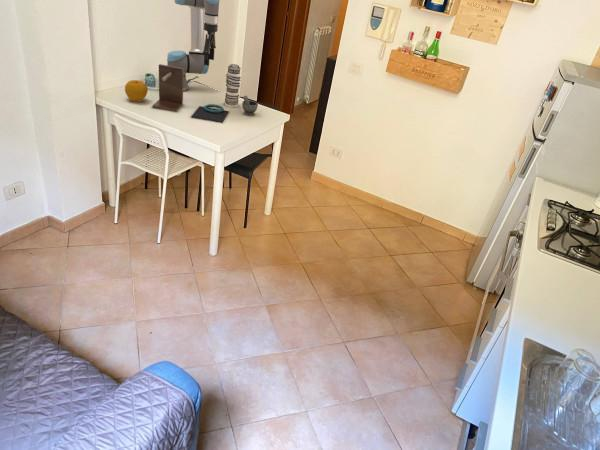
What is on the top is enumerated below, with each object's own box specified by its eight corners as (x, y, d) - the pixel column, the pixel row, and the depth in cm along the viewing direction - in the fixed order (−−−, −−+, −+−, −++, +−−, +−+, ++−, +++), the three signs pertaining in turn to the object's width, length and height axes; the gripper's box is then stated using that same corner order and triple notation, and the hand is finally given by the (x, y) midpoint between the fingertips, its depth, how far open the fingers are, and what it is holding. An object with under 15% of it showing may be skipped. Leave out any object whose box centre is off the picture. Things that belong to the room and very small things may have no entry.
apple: (144, 96, 266) (144, 77, 260) (151, 103, 258) (150, 84, 251) (122, 97, 259) (121, 77, 253) (128, 104, 251) (127, 84, 245)
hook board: (160, 101, 264) (159, 64, 252) (183, 104, 265) (183, 68, 253) (151, 108, 251) (150, 69, 240) (175, 112, 252) (176, 74, 240)
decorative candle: (221, 105, 276) (224, 64, 263) (227, 101, 284) (230, 62, 271) (235, 108, 275) (238, 68, 262) (240, 104, 283) (243, 65, 269)
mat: (199, 107, 266) (199, 106, 266) (228, 112, 267) (228, 110, 266) (191, 117, 249) (191, 116, 249) (222, 122, 250) (222, 121, 249)
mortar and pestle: (249, 110, 276) (250, 91, 270) (259, 114, 272) (262, 96, 265) (236, 113, 268) (238, 93, 261) (247, 117, 264) (249, 98, 257)
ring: (201, 111, 258) (206, 105, 268) (221, 114, 259) (225, 108, 269) (201, 108, 257) (206, 102, 267) (222, 111, 258) (225, 105, 268)
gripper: (209, 18, 250) (207, 56, 262) (198, 25, 230) (197, 66, 241) (221, 21, 251) (219, 58, 263) (213, 28, 230) (210, 68, 242)
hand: (209, 62), depth 252 cm, fingers open, 13 cm apart
